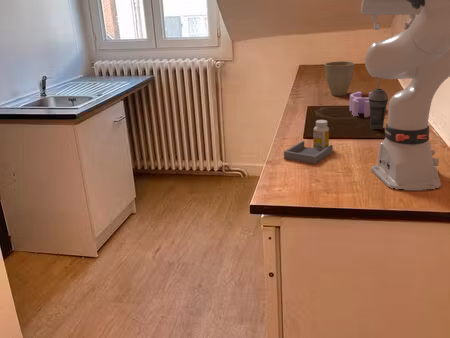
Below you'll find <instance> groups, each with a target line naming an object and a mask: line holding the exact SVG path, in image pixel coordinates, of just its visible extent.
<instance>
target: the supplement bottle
mask: <svg viewBox="0 0 450 338" xmlns="http://www.w3.org/2000/svg"><path fill="white" fill-rule="evenodd" d="M312 137H313V144H312V148H316V149H322V150H324V149H325V148H327V147H328V146H330V145H329V144H330V143H329V142H330V141H329V139H330V127H328V120H325V119H317V120H316V121H315V126H314V128H313V136H312Z"/></svg>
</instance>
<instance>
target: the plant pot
mask: <svg viewBox="0 0 450 338" xmlns="http://www.w3.org/2000/svg"><path fill="white" fill-rule="evenodd" d="M355 64H356V63H355V62H353V61H347V60H346V61H344V60H342V61H340V60H339V61H338V60H337V61H329V62H326V63H324V69H325V71H324V72H325V76H326V80H327V84H328V88H329V90H330V91H329V92H330V93H331V95H332V96H334V97H335V96H337V97H341V96H346V95H347V93H348V91H349V88H350V85H351V82H352V80H353V75H354V70H355V66H356V65H355Z"/></svg>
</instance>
